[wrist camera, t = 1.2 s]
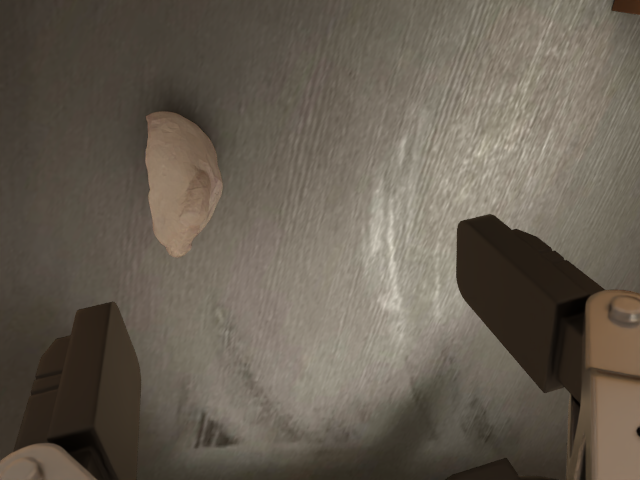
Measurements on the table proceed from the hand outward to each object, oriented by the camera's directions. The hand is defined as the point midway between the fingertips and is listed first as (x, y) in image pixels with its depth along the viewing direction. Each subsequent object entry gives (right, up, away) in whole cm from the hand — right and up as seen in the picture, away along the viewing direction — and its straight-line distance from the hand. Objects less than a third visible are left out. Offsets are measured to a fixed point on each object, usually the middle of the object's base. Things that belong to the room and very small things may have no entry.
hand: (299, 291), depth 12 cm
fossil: (-7, +7, +18) cm, 21 cm away
